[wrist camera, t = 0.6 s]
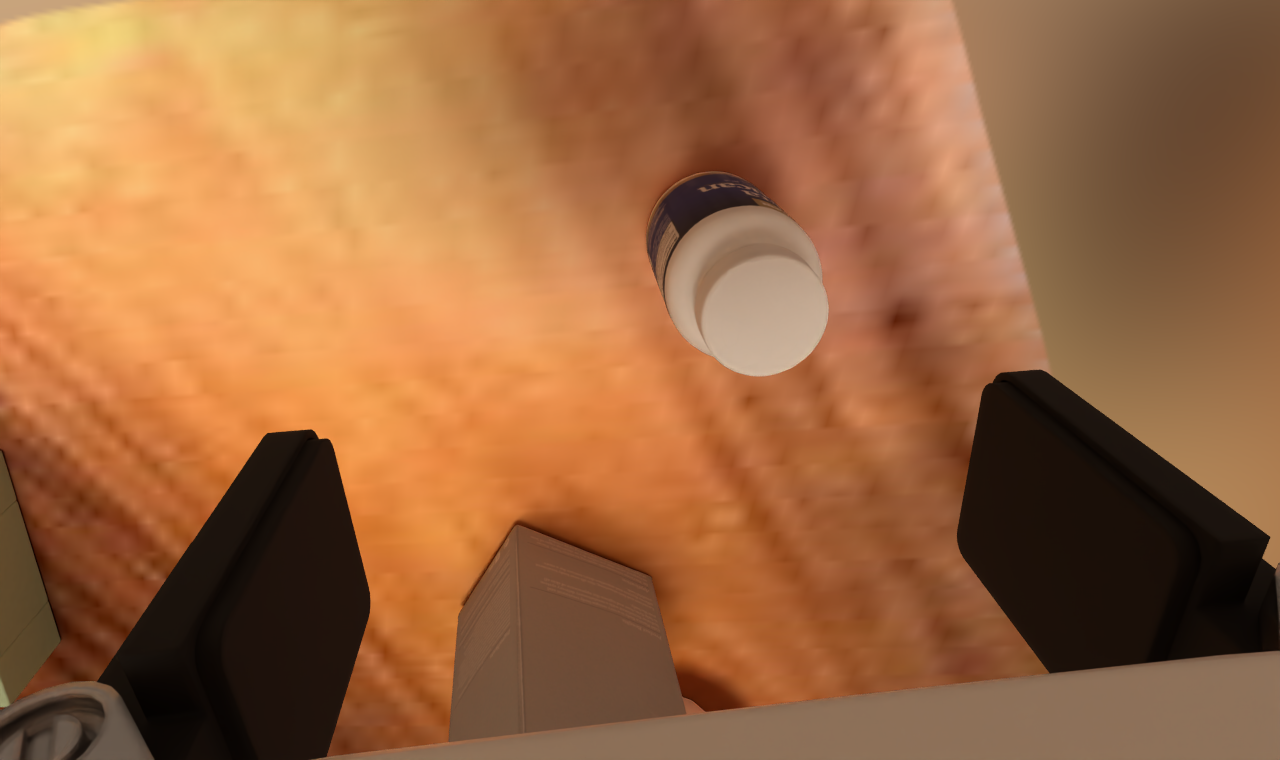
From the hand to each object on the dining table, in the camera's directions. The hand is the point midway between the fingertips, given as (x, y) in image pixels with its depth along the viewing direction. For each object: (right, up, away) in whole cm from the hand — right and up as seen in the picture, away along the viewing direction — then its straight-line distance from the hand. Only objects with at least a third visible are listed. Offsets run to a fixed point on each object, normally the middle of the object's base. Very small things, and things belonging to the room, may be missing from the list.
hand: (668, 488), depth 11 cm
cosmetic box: (-4, -9, +28) cm, 30 cm away
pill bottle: (+2, +8, +21) cm, 23 cm away
